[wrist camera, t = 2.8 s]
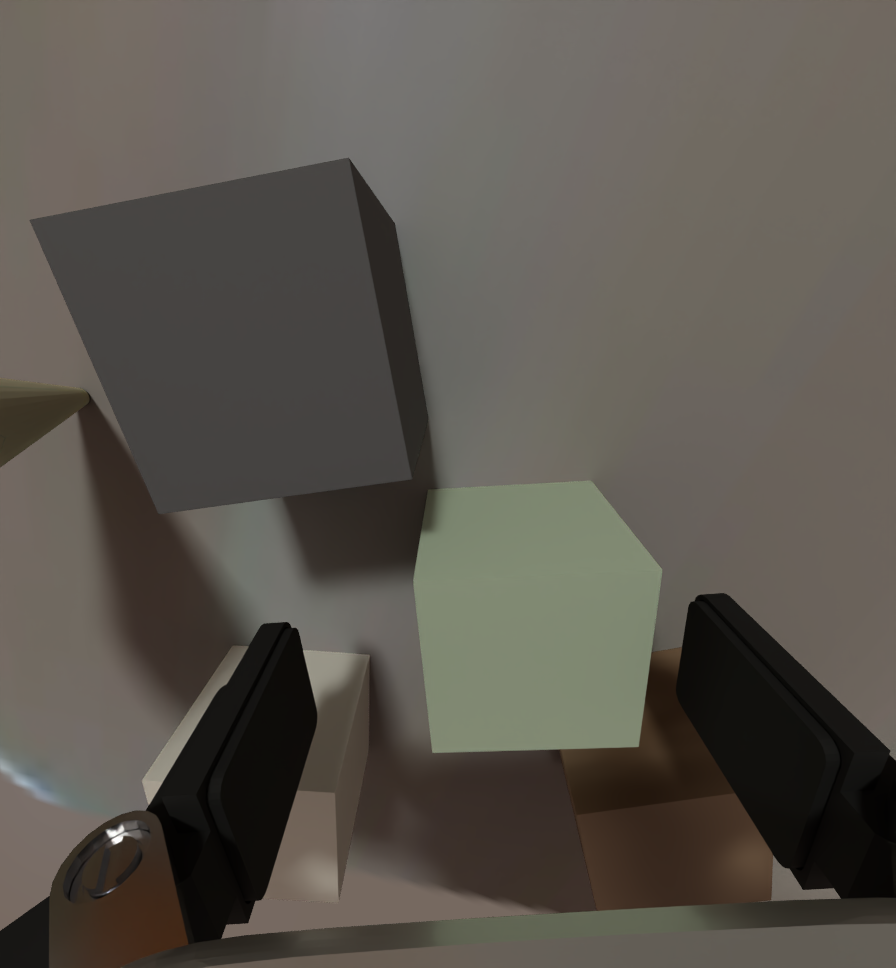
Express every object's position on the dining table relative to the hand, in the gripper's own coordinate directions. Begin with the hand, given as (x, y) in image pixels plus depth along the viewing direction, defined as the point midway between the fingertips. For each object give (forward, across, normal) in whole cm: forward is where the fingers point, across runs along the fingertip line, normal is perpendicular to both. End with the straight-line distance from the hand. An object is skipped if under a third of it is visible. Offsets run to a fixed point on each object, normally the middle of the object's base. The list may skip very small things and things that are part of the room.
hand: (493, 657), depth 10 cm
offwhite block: (+5, +7, +6) cm, 10 cm away
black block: (+4, +4, -7) cm, 9 cm away
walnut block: (+4, -5, +7) cm, 9 cm away
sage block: (+4, -1, 0) cm, 4 cm away
